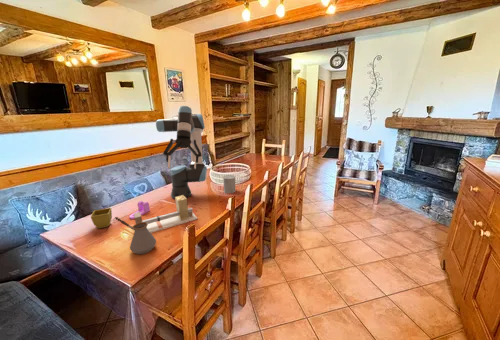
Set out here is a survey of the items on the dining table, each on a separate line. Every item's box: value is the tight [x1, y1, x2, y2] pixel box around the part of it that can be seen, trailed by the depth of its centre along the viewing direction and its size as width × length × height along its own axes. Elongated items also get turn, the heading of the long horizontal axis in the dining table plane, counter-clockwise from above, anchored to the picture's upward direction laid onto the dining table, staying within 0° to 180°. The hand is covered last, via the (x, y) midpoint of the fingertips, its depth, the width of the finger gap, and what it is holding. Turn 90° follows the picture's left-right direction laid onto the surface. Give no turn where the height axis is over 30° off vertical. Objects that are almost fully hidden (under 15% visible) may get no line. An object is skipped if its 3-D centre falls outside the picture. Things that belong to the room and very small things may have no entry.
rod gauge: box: [133, 207, 198, 234], centre depth 127 cm, size 11×33×10 cm, turn 123°
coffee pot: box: [113, 216, 157, 255], centre depth 105 cm, size 21×12×15 cm, turn 71°
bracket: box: [129, 200, 151, 220], centre depth 140 cm, size 13×6×7 cm, turn 163°
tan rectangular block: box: [174, 195, 189, 220], centre depth 131 cm, size 7×5×12 cm
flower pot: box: [90, 207, 113, 229], centre depth 126 cm, size 9×9×9 cm
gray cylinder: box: [222, 174, 237, 194], centre depth 174 cm, size 10×10×12 cm
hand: (182, 168), depth 117 cm, fingers open, 13 cm apart
